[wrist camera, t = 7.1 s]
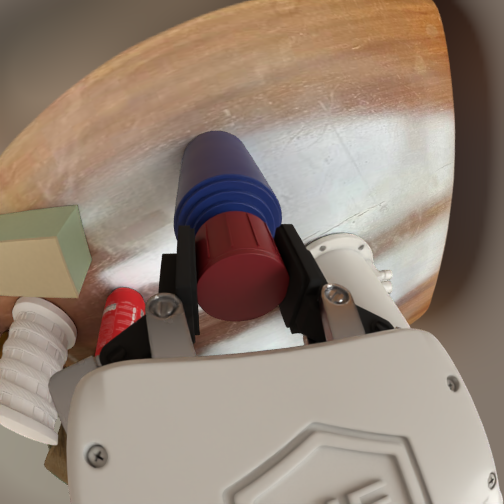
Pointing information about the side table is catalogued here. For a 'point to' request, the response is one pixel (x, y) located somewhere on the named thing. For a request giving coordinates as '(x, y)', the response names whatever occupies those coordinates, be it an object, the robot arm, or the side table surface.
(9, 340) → the decorative container
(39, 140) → the side table surface
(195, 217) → the bottle
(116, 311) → the beverage can
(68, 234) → the beige and green block
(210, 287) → the cap
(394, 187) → the side table surface
